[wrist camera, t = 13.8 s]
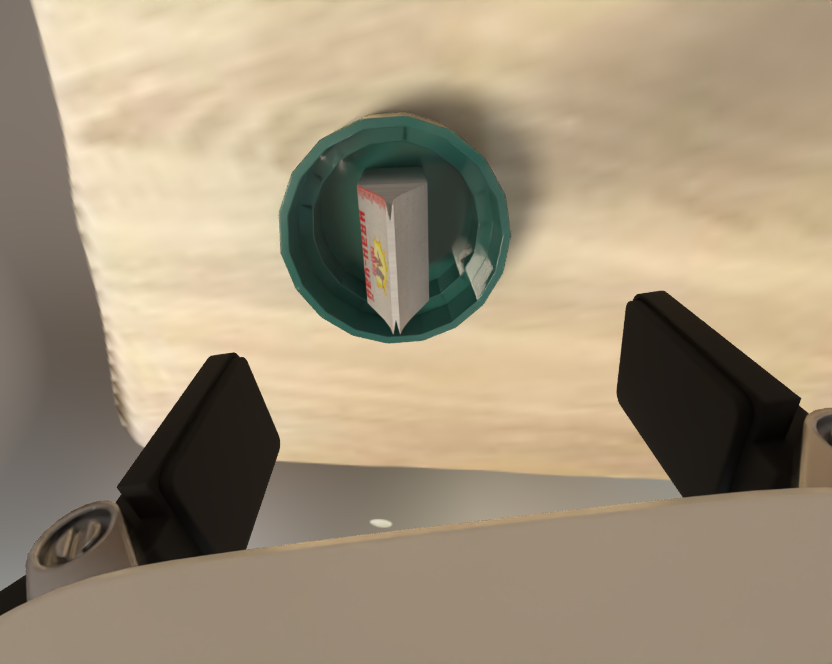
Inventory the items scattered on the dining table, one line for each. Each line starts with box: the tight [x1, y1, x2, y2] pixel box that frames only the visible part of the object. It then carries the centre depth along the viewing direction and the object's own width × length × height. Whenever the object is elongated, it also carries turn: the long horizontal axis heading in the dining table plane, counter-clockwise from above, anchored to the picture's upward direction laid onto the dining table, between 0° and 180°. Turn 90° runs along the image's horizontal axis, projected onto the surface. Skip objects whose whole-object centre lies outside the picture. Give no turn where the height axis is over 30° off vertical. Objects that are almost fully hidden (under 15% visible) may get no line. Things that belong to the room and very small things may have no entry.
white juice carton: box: [357, 167, 429, 334], centre depth 25 cm, size 4×7×10 cm, turn 2°
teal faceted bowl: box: [279, 112, 511, 343], centre depth 27 cm, size 13×13×6 cm
